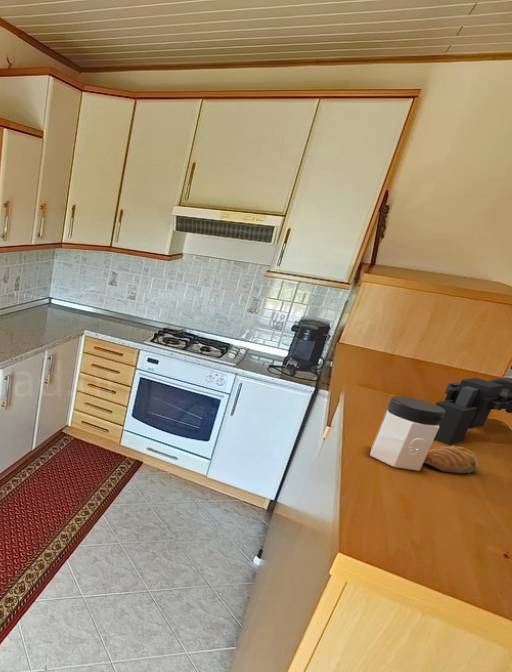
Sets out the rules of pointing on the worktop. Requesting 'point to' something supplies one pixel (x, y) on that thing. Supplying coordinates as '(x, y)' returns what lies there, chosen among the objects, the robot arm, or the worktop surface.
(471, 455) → the pastry
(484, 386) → the block
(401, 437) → the jar
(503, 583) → the worktop surface
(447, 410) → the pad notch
